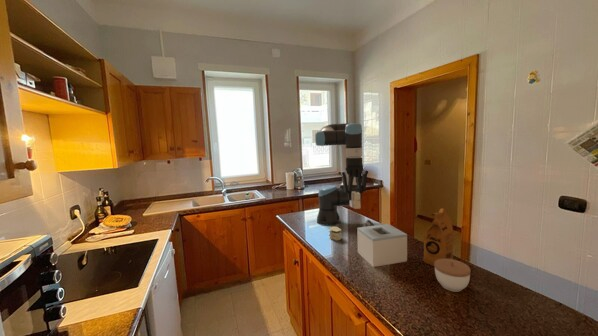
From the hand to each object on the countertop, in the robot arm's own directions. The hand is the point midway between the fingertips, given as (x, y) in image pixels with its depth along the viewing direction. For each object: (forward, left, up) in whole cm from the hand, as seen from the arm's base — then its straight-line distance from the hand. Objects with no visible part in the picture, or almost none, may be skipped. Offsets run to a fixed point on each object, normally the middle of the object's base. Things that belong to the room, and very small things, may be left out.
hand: (354, 206), depth 117 cm
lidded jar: (+38, +18, -21) cm, 47 cm away
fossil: (-13, +16, -22) cm, 29 cm away
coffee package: (+22, +27, -21) cm, 41 cm away
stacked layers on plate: (-15, -5, -22) cm, 27 cm away
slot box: (+11, +7, -21) cm, 25 cm away
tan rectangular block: (0, 0, 0) cm, 0 cm away
